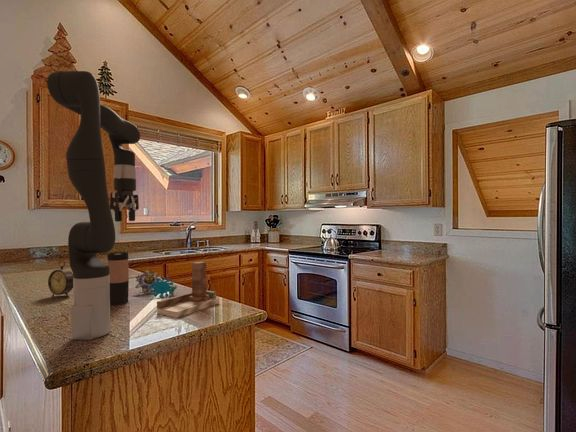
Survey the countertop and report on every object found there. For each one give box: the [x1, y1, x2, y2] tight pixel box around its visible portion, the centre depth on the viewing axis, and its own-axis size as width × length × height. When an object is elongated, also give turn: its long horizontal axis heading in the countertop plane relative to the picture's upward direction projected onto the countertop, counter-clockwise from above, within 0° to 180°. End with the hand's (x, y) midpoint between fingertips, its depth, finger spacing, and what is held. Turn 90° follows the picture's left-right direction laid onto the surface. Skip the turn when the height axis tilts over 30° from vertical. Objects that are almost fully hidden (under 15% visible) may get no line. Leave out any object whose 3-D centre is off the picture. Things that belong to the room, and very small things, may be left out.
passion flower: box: [134, 269, 162, 294], centre depth 149 cm, size 11×11×12 cm
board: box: [156, 289, 220, 319], centre depth 120 cm, size 21×10×4 cm, turn 150°
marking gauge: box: [189, 261, 209, 302], centre depth 124 cm, size 6×6×15 cm
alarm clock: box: [47, 259, 73, 298], centre depth 141 cm, size 11×5×16 cm, turn 73°
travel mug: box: [106, 251, 130, 306], centre depth 130 cm, size 8×8×20 cm
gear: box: [150, 277, 178, 299], centre depth 141 cm, size 11×6×10 cm
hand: (125, 221), depth 120 cm, fingers open, 8 cm apart
